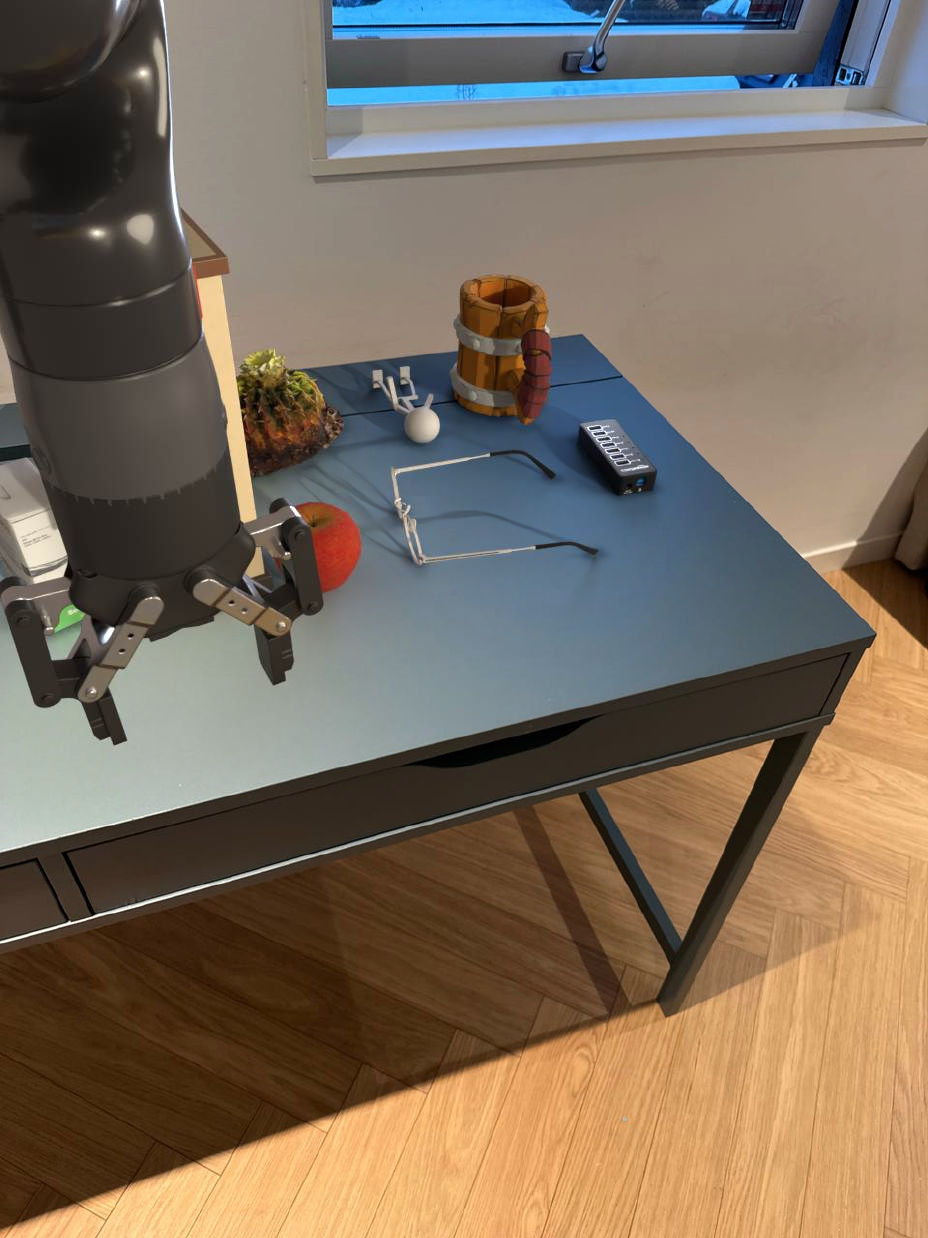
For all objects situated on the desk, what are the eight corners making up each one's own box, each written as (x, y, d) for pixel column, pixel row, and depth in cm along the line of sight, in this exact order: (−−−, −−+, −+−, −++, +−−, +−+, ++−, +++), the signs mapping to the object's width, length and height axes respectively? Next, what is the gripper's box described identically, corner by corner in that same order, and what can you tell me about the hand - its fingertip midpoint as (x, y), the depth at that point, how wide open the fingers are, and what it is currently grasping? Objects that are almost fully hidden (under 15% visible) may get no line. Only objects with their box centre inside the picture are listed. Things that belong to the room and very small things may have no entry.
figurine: (417, 340, 107) (458, 393, 96) (418, 389, 111) (457, 444, 100) (366, 346, 106) (402, 400, 95) (369, 395, 109) (403, 453, 98)
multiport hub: (611, 435, 103) (614, 417, 101) (655, 489, 95) (659, 471, 94) (575, 440, 102) (578, 422, 100) (617, 496, 94) (620, 477, 93)
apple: (379, 579, 83) (377, 510, 78) (317, 622, 79) (309, 553, 73) (321, 543, 87) (315, 475, 81) (258, 582, 82) (247, 513, 77)
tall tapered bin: (141, 631, 77) (43, 288, 57) (105, 551, 85) (6, 222, 64) (274, 588, 82) (228, 256, 61) (228, 516, 89) (173, 199, 69)
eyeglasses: (379, 490, 93) (378, 449, 90) (550, 470, 97) (555, 430, 94) (412, 591, 82) (412, 548, 79) (603, 564, 86) (611, 522, 83)
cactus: (248, 385, 108) (237, 306, 101) (369, 414, 104) (366, 335, 97) (162, 458, 96) (144, 374, 89) (295, 494, 92) (286, 410, 86)
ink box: (106, 611, 79) (71, 500, 71) (50, 636, 76) (7, 524, 68) (63, 561, 83) (25, 452, 75) (9, 584, 81) (-35, 473, 73)
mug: (515, 365, 114) (525, 245, 104) (578, 431, 103) (597, 305, 93) (436, 380, 111) (439, 257, 100) (493, 449, 100) (503, 320, 90)
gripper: (263, 361, 42) (294, 616, 53) (-73, 437, 36) (41, 703, 47) (331, 440, 37) (349, 701, 48) (-42, 541, 32) (76, 809, 43)
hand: (196, 702), depth 48 cm, fingers open, 8 cm apart
